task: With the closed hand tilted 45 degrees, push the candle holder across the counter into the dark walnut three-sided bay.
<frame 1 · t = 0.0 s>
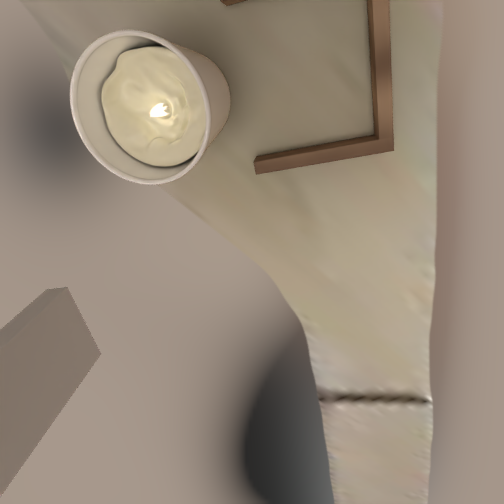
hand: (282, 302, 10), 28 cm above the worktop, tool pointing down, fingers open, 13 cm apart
walnut bay: (304, 73, 32), on the worktop
candle holder: (189, 99, 35), on the worktop
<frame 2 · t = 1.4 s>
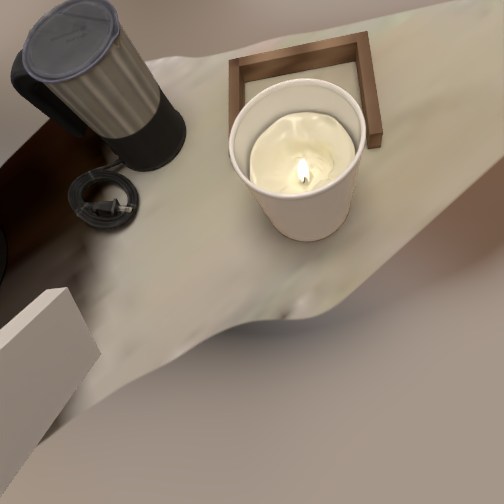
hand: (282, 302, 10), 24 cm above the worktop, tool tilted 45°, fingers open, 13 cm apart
milk frother: (138, 168, 43), on the worktop
walnut bay: (301, 112, 40), on the worktop
candle holder: (308, 204, 37), on the worktop
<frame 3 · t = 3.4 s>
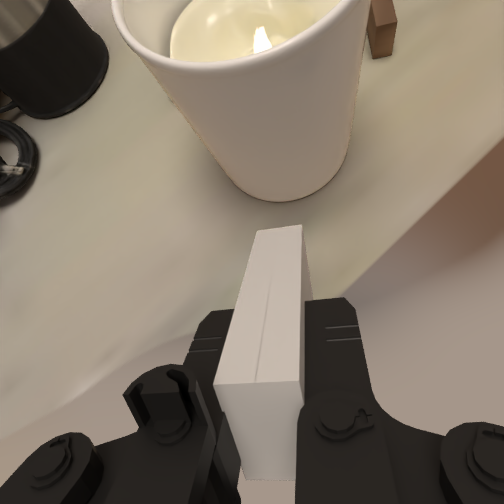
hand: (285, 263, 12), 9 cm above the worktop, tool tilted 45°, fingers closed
milk frother: (42, 115, 30), on the worktop
walnut bay: (271, 19, 27), on the worktop
candle holder: (284, 147, 24), on the worktop
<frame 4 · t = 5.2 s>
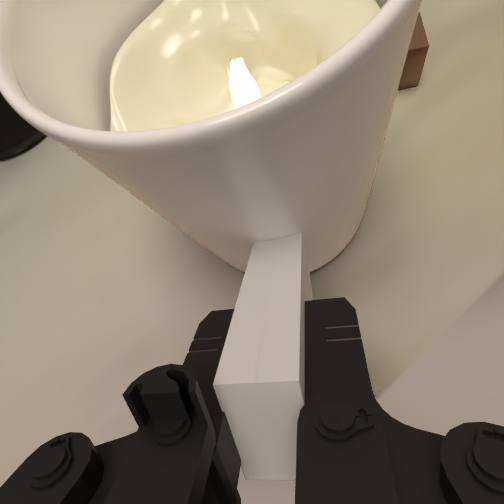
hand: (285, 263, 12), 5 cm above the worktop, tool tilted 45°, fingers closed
walnut bay: (264, 38, 22), on the worktop
candle holder: (280, 203, 18), on the worktop, touching gripper
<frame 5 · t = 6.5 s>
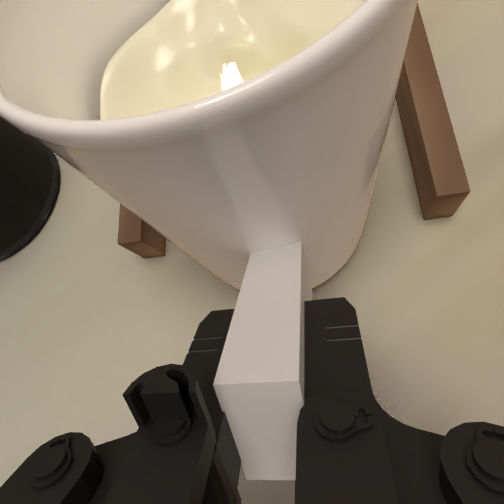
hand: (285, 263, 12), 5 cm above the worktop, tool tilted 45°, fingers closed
walnut bay: (275, 141, 20), on the worktop
candle holder: (278, 219, 18), on the worktop, touching gripper
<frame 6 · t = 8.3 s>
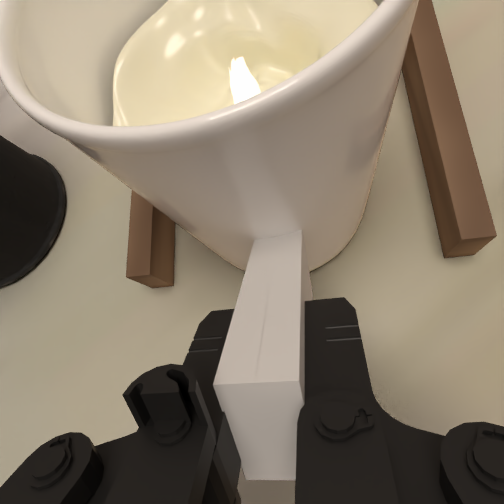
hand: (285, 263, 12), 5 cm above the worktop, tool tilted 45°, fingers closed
walnut bay: (289, 168, 19), on the worktop
candle holder: (281, 203, 19), on the worktop
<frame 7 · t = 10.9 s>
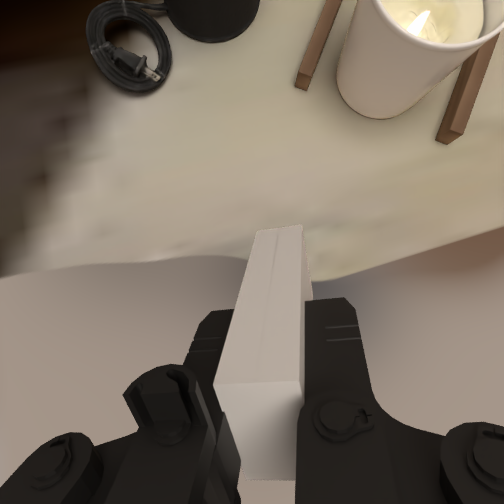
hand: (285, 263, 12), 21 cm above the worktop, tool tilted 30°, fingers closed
milk frother: (182, 27, 35), on the worktop
walnut bay: (391, 60, 34), on the worktop
candle holder: (378, 78, 34), on the worktop
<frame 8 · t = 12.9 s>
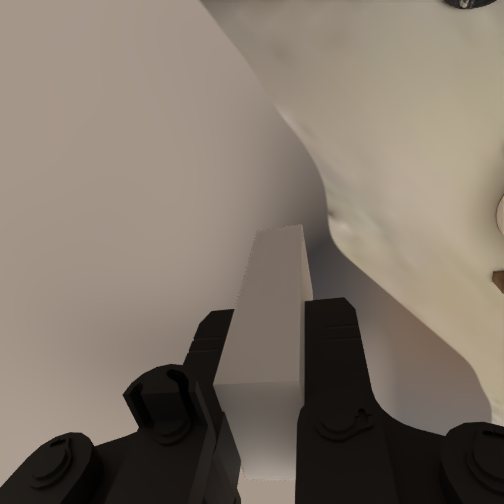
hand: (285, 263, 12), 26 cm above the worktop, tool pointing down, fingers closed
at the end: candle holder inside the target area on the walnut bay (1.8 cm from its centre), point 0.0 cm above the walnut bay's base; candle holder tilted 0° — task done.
